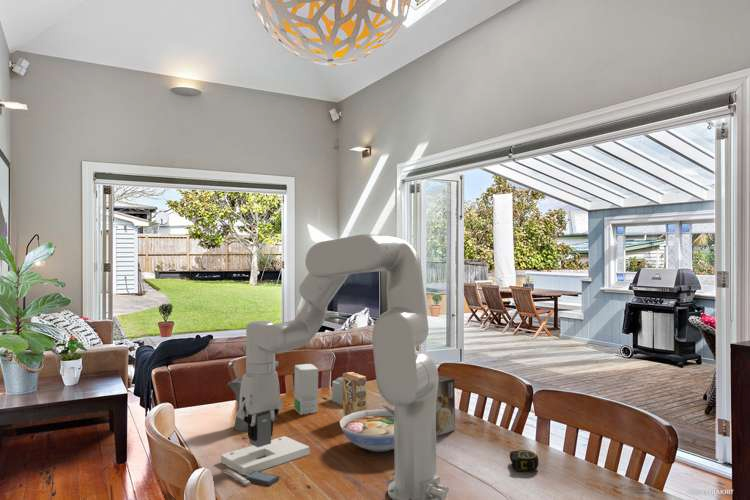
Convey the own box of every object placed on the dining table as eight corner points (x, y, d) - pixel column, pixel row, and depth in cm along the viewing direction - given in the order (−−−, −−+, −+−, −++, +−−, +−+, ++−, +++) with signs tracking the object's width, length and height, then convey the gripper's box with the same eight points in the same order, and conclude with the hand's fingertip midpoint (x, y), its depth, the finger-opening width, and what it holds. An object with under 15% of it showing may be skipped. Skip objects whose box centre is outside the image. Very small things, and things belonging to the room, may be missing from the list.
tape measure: (509, 462, 136) (509, 448, 136) (536, 464, 135) (536, 449, 135) (511, 473, 129) (511, 458, 129) (540, 475, 128) (540, 459, 128)
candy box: (367, 424, 167) (367, 376, 167) (356, 426, 165) (355, 378, 165) (353, 417, 175) (352, 371, 175) (342, 419, 172) (341, 373, 172)
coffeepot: (232, 435, 158) (231, 375, 158) (223, 426, 166) (223, 369, 166) (280, 426, 166) (279, 369, 166) (270, 418, 174) (269, 364, 174)
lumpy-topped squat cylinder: (346, 395, 202) (346, 372, 202) (373, 400, 194) (373, 377, 195) (328, 401, 194) (328, 378, 194) (356, 407, 186) (355, 382, 186)
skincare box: (293, 408, 184) (293, 364, 185) (311, 406, 187) (311, 363, 187) (300, 415, 177) (300, 369, 177) (319, 412, 180) (318, 367, 180)
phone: (279, 479, 126) (279, 476, 126) (269, 485, 123) (269, 482, 123) (254, 474, 130) (254, 470, 130) (244, 480, 126) (244, 476, 126)
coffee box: (440, 425, 165) (440, 374, 165) (456, 430, 160) (455, 378, 160) (419, 431, 159) (419, 379, 160) (435, 437, 154) (434, 383, 155)
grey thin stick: (250, 484, 124) (250, 481, 124) (245, 486, 123) (245, 482, 123) (228, 471, 131) (228, 467, 131) (223, 472, 131) (223, 469, 131)
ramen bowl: (328, 438, 155) (328, 410, 155) (399, 428, 163) (399, 402, 163) (355, 471, 131) (355, 438, 131) (436, 457, 139) (436, 426, 139)
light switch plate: (309, 454, 142) (309, 446, 142) (244, 476, 129) (244, 467, 129) (284, 442, 151) (284, 435, 151) (220, 462, 137) (220, 454, 137)
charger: (271, 443, 138) (271, 413, 138) (257, 447, 135) (257, 416, 135) (262, 439, 141) (262, 409, 141) (249, 443, 138) (249, 413, 138)
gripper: (279, 361, 146) (279, 426, 146) (224, 370, 135) (224, 441, 135) (295, 365, 141) (294, 433, 141) (239, 375, 129) (239, 449, 129)
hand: (260, 436), depth 138 cm, fingers closed on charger, 4 cm apart
